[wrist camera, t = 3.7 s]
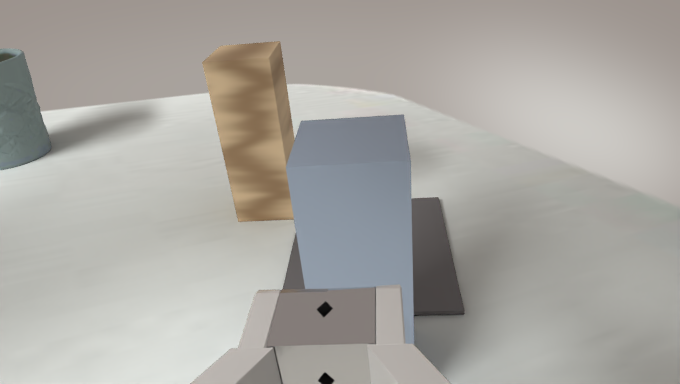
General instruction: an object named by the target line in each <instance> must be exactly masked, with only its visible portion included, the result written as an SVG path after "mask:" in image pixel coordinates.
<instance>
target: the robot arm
mask: <svg viewBox="0 0 680 384" xmlns="http://www.w3.org/2000/svg"><path fill="white" fill-rule="evenodd" d="M190 384H451V383H450V382H449V381H448V380H447V379H446V378H445V377H444V376H443V375H442V374H441V372H440V371H439V370H438V369H437V368H436V367H435V366H434V365H433V364H432V363H431V362H430V361H429V360H428V359H427V358H426V357H425V356H424V355H423V353H422V352H421V351H420V350H419V349H418V348H417V347H416V346H415V345H414V344H406V342H405V328H404V315H403V301H402V287H401V286H400V284H398V285H382V286H374V287H353V288H331V289H282V290H259V291H258V292H257V293H256V294H255V295H254V299H253V302H252V305H251V308H250V311H249V314H248V318H247V321H246V324H245V327H244V330H243V333H242V336H241V340H240V343H239V346H238V348H235V349H230V350H229V351H227V352H226V353H225V354H224V355H223V356H222V357H220V358H219V359H218V360H217V361H216V362H215V363H213V364H212V365H211V366H210V367H209V368H208V369H207V370H205V371H204V372H203V373H202V374H201V375H200V376H198V377H197V378H196V379H195V380H194V381H193V382H191V383H190Z"/></svg>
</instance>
